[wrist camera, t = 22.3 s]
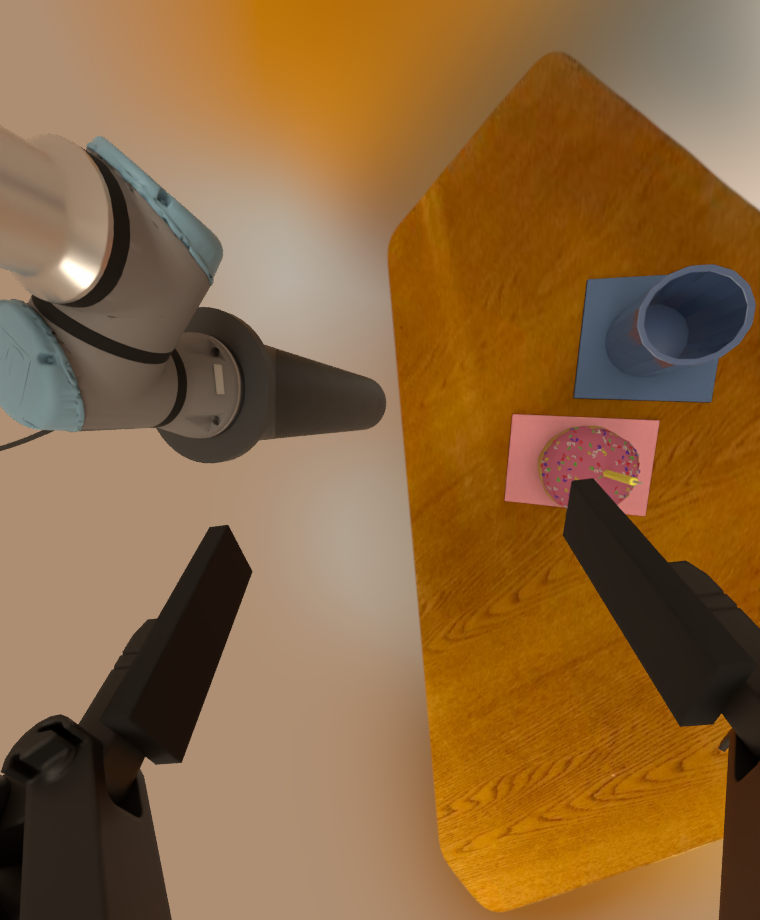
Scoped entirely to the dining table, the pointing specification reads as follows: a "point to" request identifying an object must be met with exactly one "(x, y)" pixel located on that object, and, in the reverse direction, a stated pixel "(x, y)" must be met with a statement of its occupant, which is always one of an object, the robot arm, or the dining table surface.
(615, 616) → the robot arm
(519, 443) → the rose mat
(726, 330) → the blue cup
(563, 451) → the cupcake
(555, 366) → the dining table surface
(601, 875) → the dining table surface
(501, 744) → the dining table surface
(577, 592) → the dining table surface
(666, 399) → the blue mat
